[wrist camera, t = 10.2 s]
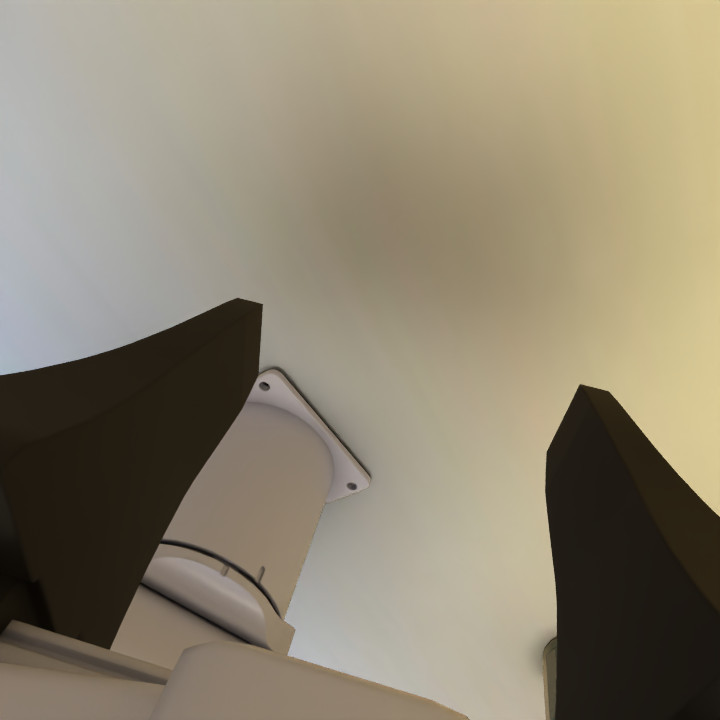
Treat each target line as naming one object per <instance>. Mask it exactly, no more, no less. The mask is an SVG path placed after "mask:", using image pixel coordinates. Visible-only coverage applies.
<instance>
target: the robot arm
mask: <svg viewBox="0 0 720 720" xmlns="http://www.w3.org/2000/svg"><path fill="white" fill-rule="evenodd" d="M262 310H263V304H260V303H256V302H252V301H248V300H244V299H240V298H236V299H233V300H231V301H228V302H226V303H224V304H221V305H219V306H217V307H215V308H213V309H211V310H209V311H206V312H204V313H202V314H200V315H198V316H196V317H193V318H191V319H189V320H187V321H185V322H182V323H180V324H178V325H176V326H174V327H171V328H169V329H167V330H164V331H161V332H159V333H156V334H154V335H151V336H149V337H146V338H144V339H141V340H139V341H136V342H134V343H131V344H128V345H126V346H123V347H120V348H117V349H114V350H111V351H107V352H104V353H100V354H97V355H94V356H90V357H87V358H83V359H79V360H75V361H71V362H66V363H62V364H57V365H53V366H48V367H44V368H39V369H35V370H30V371H24V372H18V373H12V374H6V375H0V720H470V719H469V718H468V717H467V716H465V715H463V714H460V713H458V712H456V711H454V710H452V709H450V708H448V707H445V706H443V705H441V704H439V703H437V702H435V701H432V700H430V699H426V698H423V697H420V696H417V695H413V694H410V693H407V692H404V691H400V690H397V689H394V688H391V687H387V686H384V685H381V684H378V683H375V682H371V681H368V680H365V679H362V678H358V677H355V676H352V675H349V674H345V673H342V672H339V671H336V670H332V669H329V668H326V667H323V666H319V665H316V664H313V663H310V662H306V661H303V660H300V659H297V658H294V657H290V656H287V654H288V651H289V648H290V645H291V642H292V639H293V636H294V633H295V629H294V627H292V626H291V625H289V624H287V623H286V622H285V621H284V618H285V615H286V612H287V610H288V607H289V604H290V601H291V598H292V595H293V592H294V590H295V587H296V584H297V581H298V578H299V575H300V572H301V570H302V567H303V564H304V561H305V558H306V555H307V553H308V550H309V547H310V544H311V541H312V538H313V535H314V533H315V530H316V527H317V524H318V521H319V518H320V515H321V513H322V510H323V507H324V504H327V503H330V502H332V501H335V500H338V499H340V498H343V497H346V496H349V495H351V494H354V493H357V492H359V491H362V490H365V489H367V488H368V487H369V485H370V477H369V475H368V474H367V473H366V472H365V471H364V469H363V468H362V467H361V466H360V465H359V463H358V462H357V461H356V460H355V459H354V458H353V456H352V455H351V454H350V453H349V452H348V451H347V449H346V448H345V447H344V446H343V445H342V444H341V442H340V441H339V440H338V439H337V438H336V436H335V435H334V434H333V433H332V432H331V431H330V429H329V428H328V427H327V426H326V425H325V424H324V422H323V421H322V420H321V419H320V418H319V417H318V415H317V414H316V413H315V412H314V411H313V409H312V408H311V407H310V406H309V405H308V404H307V402H306V401H305V400H304V399H303V398H302V397H301V395H300V394H299V393H298V392H297V391H296V390H295V388H294V387H293V386H292V385H291V384H290V382H289V381H288V380H287V379H286V378H285V377H284V375H283V374H282V373H281V372H279V371H277V370H273V369H271V370H268V371H266V372H264V373H262V374H260V375H259V376H258V372H259V356H260V341H261V325H262ZM263 382H266V383H267V384H269V386H265V385H264V384H263ZM351 483H354V484H355V485H354V484H351ZM545 493H546V504H547V513H548V522H549V531H550V540H551V548H552V557H553V566H554V574H555V583H556V597H557V671H556V705H555V720H720V517H719V516H718V515H717V514H716V513H715V512H714V511H713V510H712V509H711V508H710V507H709V506H708V505H707V504H706V503H705V502H704V501H703V500H702V499H701V498H700V497H699V496H698V495H697V494H696V493H695V492H694V491H693V490H692V489H691V488H690V487H689V485H688V484H687V483H686V482H685V481H684V480H683V479H682V478H681V477H680V476H679V475H678V474H677V472H676V471H675V470H674V469H673V468H672V467H671V466H670V465H669V463H668V462H667V461H666V460H665V459H664V458H663V456H662V455H661V454H660V453H659V452H658V450H657V449H656V448H655V447H654V446H653V444H652V443H651V442H650V441H649V440H648V438H647V437H646V436H645V435H644V433H643V432H642V431H641V430H640V428H639V427H638V426H637V425H636V423H635V422H634V421H633V420H632V418H631V417H630V416H629V415H628V413H627V412H626V411H625V410H624V409H623V407H622V406H621V405H620V404H619V402H618V401H617V400H616V399H615V398H614V397H613V396H612V395H611V393H610V392H609V391H605V390H601V389H597V388H593V387H589V386H585V385H581V384H580V385H579V387H578V389H577V391H576V393H575V395H574V398H573V400H572V402H571V404H570V406H569V408H568V410H567V412H566V414H565V416H564V418H563V420H562V422H561V424H560V426H559V428H558V430H557V432H556V434H555V436H554V438H553V440H552V442H551V444H550V446H549V449H548V451H547V458H546V485H545Z"/></svg>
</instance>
